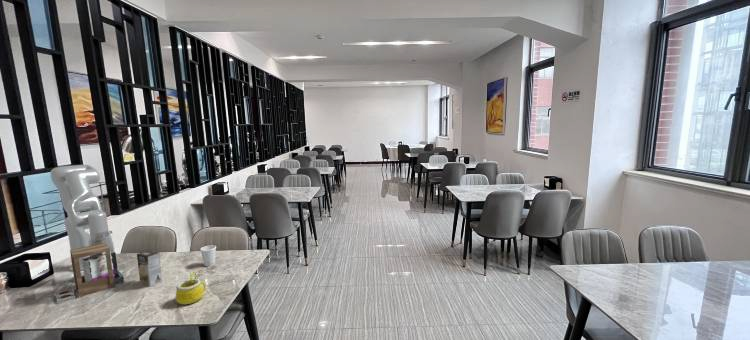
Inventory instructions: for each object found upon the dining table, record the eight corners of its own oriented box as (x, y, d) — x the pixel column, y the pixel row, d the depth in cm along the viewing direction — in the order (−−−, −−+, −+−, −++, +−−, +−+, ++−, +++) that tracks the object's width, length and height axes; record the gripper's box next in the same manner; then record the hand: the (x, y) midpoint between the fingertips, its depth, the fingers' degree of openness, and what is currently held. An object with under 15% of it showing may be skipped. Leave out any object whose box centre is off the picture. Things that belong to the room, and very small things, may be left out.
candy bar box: (108, 280, 170) (104, 250, 168) (116, 281, 169) (112, 251, 167) (85, 291, 159) (80, 259, 157) (93, 292, 158) (89, 260, 156)
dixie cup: (220, 263, 190) (219, 246, 188) (206, 268, 183) (205, 251, 182) (212, 260, 194) (211, 244, 193) (198, 265, 187) (197, 248, 186)
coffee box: (139, 283, 166) (135, 253, 164) (152, 278, 172) (149, 249, 170) (150, 286, 162) (146, 256, 160) (163, 281, 168) (159, 251, 166)
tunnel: (75, 289, 162) (69, 249, 159) (109, 280, 172) (104, 242, 169) (79, 297, 153) (73, 255, 151) (114, 287, 163) (109, 247, 161)
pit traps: (55, 295, 156) (54, 293, 156) (72, 290, 160) (71, 288, 160) (57, 303, 148) (57, 301, 148) (75, 298, 152) (75, 295, 152)
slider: (77, 282, 169) (74, 260, 167) (116, 271, 181) (113, 251, 179) (83, 293, 156) (80, 270, 154) (125, 281, 168) (122, 259, 167)
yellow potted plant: (184, 308, 140) (182, 282, 139) (171, 302, 146) (169, 277, 144) (212, 295, 151) (210, 271, 149) (199, 290, 157) (197, 266, 155)
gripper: (115, 230, 181) (120, 262, 183) (80, 237, 170) (84, 271, 172) (118, 233, 176) (122, 265, 178) (82, 240, 165) (86, 274, 167)
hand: (104, 268), depth 175 cm, fingers closed
